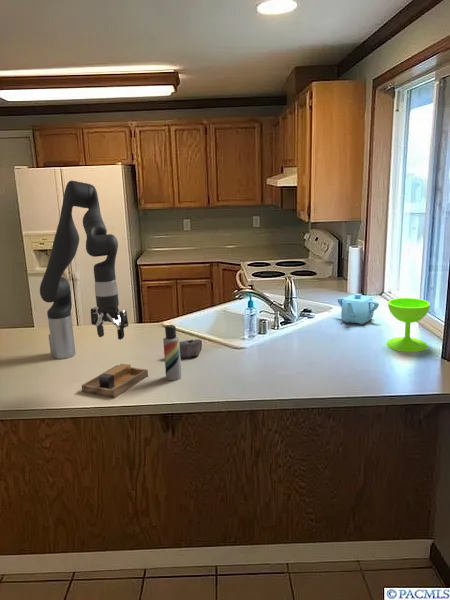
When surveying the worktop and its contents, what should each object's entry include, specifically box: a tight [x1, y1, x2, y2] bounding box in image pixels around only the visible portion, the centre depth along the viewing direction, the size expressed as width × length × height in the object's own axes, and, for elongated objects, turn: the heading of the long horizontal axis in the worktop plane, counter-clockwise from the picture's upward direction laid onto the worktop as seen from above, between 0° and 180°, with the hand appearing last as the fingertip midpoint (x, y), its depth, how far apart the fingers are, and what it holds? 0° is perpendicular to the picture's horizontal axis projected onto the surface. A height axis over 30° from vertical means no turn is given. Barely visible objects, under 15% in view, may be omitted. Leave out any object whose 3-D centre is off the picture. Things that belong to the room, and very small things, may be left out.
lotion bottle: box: [162, 324, 183, 381], centre depth 185 cm, size 6×6×20 cm
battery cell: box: [98, 363, 131, 389], centre depth 184 cm, size 4×14×4 cm, turn 154°
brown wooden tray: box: [81, 364, 149, 399], centre depth 184 cm, size 14×20×2 cm
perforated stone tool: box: [179, 338, 203, 359], centre depth 207 cm, size 15×5×7 cm, turn 96°
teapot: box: [337, 293, 380, 326], centre depth 242 cm, size 18×16×14 cm
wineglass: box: [386, 297, 431, 353], centre depth 207 cm, size 16×16×18 cm
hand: (111, 337), depth 180 cm, fingers open, 8 cm apart
